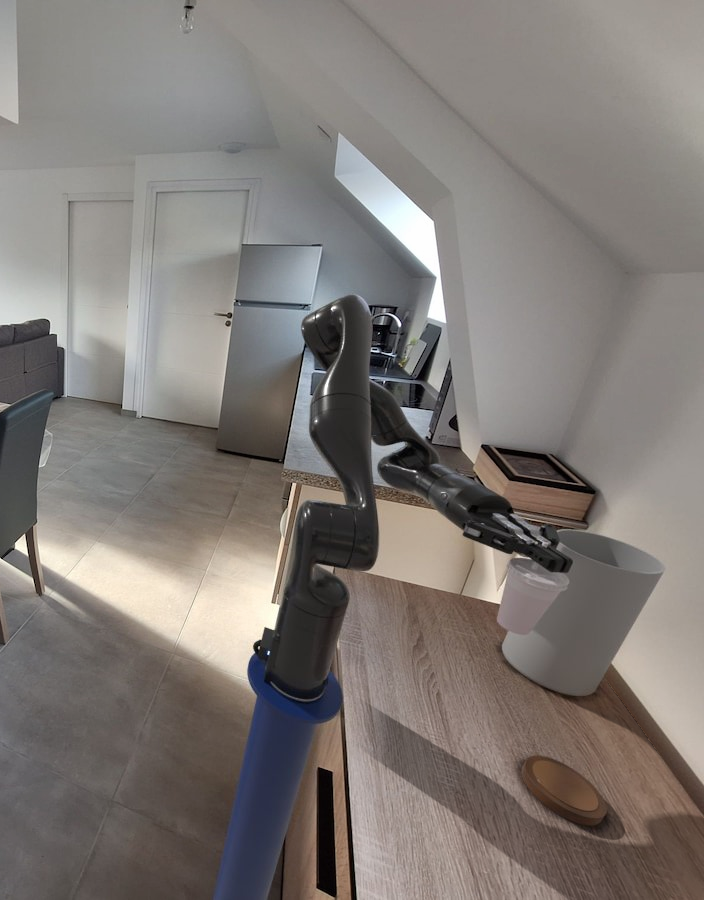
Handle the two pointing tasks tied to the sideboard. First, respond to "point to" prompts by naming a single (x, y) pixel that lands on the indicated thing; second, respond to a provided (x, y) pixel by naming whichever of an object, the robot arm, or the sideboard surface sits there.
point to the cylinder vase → (586, 614)
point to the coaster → (563, 790)
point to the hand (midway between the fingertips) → (562, 567)
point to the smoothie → (528, 594)
